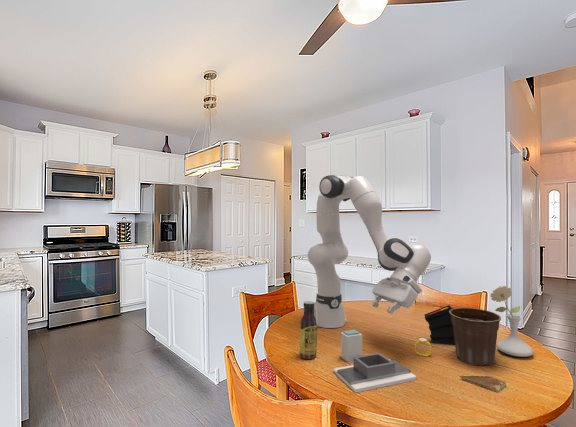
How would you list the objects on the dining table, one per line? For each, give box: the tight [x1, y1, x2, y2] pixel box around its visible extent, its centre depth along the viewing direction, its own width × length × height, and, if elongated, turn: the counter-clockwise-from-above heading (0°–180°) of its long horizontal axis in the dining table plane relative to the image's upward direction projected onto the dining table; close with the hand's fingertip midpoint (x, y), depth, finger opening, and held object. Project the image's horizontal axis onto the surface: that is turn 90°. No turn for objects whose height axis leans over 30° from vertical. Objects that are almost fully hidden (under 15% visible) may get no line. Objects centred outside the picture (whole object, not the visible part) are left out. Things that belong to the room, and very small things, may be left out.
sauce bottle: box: [299, 300, 318, 360], centre depth 121 cm, size 7×6×20 cm
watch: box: [414, 337, 433, 357], centre depth 121 cm, size 6×3×6 cm, turn 73°
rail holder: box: [332, 352, 418, 394], centre depth 106 cm, size 14×22×5 cm, turn 109°
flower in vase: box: [490, 285, 534, 358], centre depth 123 cm, size 13×11×25 cm
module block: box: [340, 329, 363, 363], centre depth 119 cm, size 4×6×10 cm
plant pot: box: [449, 307, 502, 367], centre depth 118 cm, size 16×16×16 cm
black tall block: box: [424, 304, 455, 346], centre depth 133 cm, size 4×13×15 cm, turn 74°
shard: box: [459, 375, 507, 393], centre depth 101 cm, size 11×8×2 cm
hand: (381, 309), depth 124 cm, fingers open, 8 cm apart
